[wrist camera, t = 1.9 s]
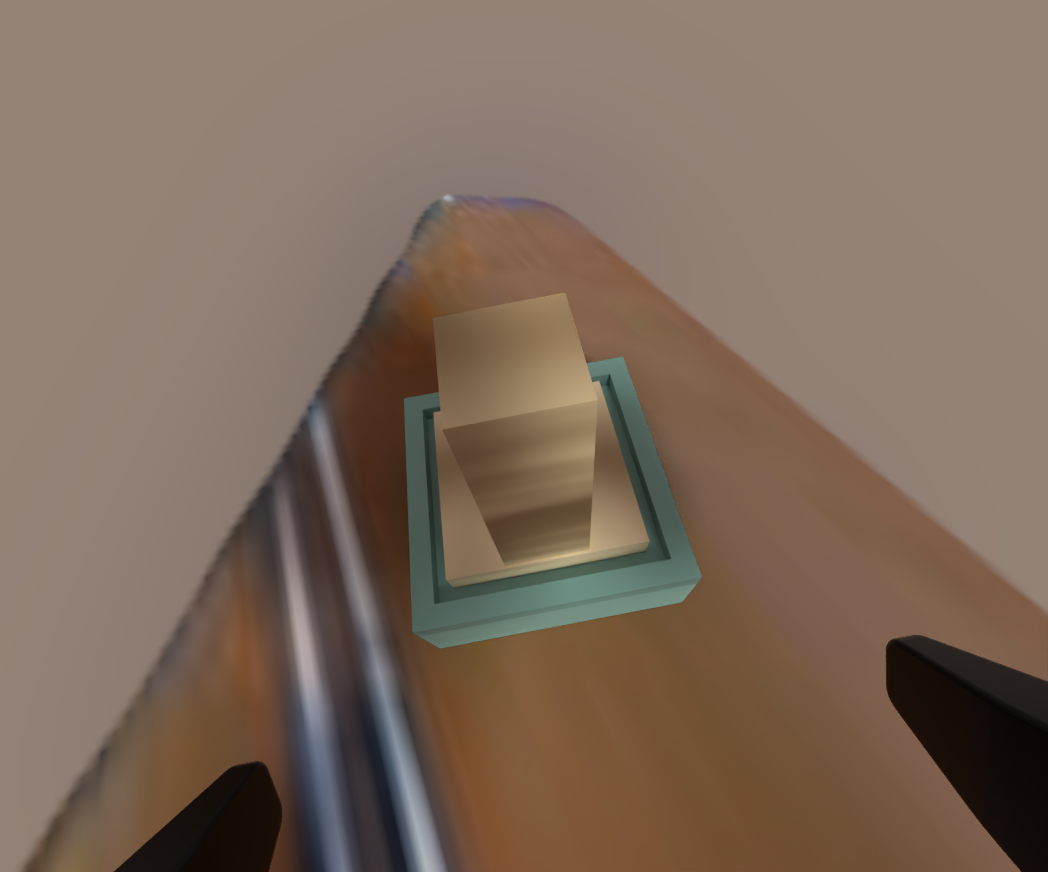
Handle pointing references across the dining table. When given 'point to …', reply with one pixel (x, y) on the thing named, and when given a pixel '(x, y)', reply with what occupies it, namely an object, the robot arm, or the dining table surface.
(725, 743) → the dining table surface
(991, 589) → the dining table surface
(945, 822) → the dining table surface
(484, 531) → the tan boxy piece
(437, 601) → the teal square tray
